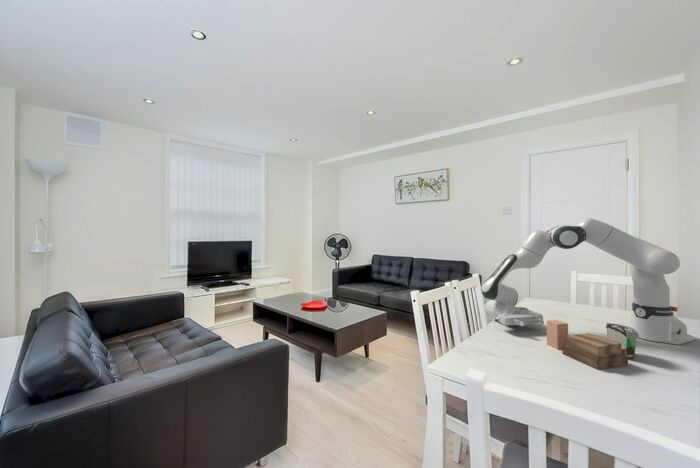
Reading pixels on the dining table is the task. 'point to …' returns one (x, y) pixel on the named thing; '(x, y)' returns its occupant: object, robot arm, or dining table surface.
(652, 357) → the dining table surface
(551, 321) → the pillar
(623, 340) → the food container
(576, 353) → the tower base
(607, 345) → the tower top
